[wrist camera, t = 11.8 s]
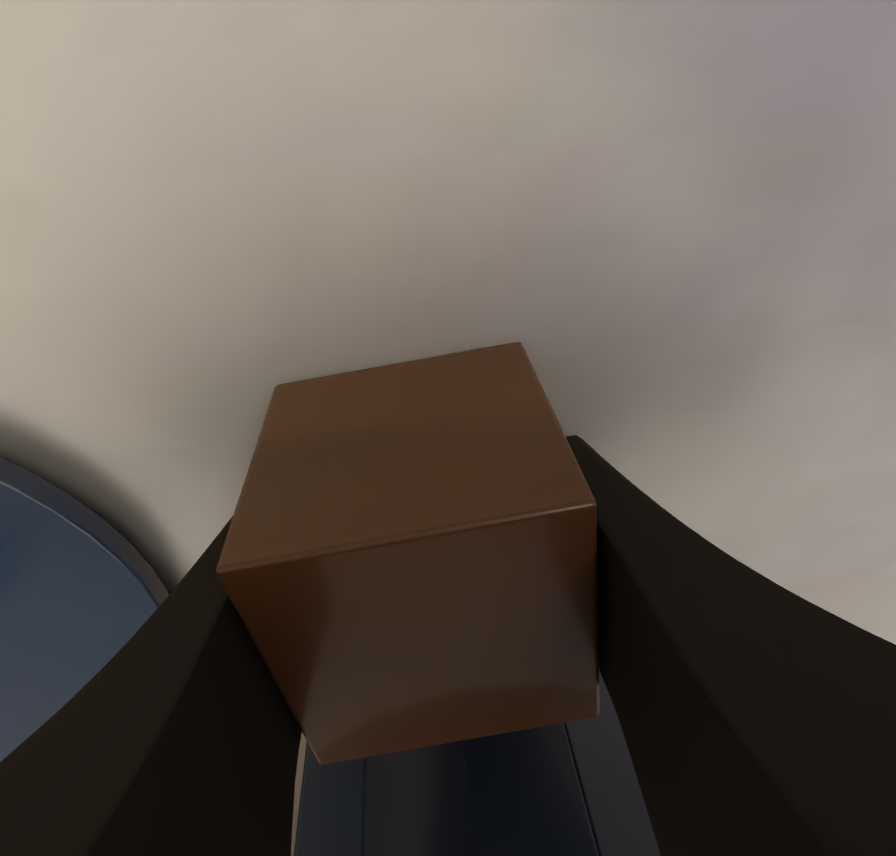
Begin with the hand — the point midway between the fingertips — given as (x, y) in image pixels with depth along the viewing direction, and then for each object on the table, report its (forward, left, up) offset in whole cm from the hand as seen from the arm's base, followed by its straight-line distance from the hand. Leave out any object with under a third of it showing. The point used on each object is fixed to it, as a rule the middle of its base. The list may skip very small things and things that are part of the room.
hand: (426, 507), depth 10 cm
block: (0, 0, -1) cm, 1 cm away
